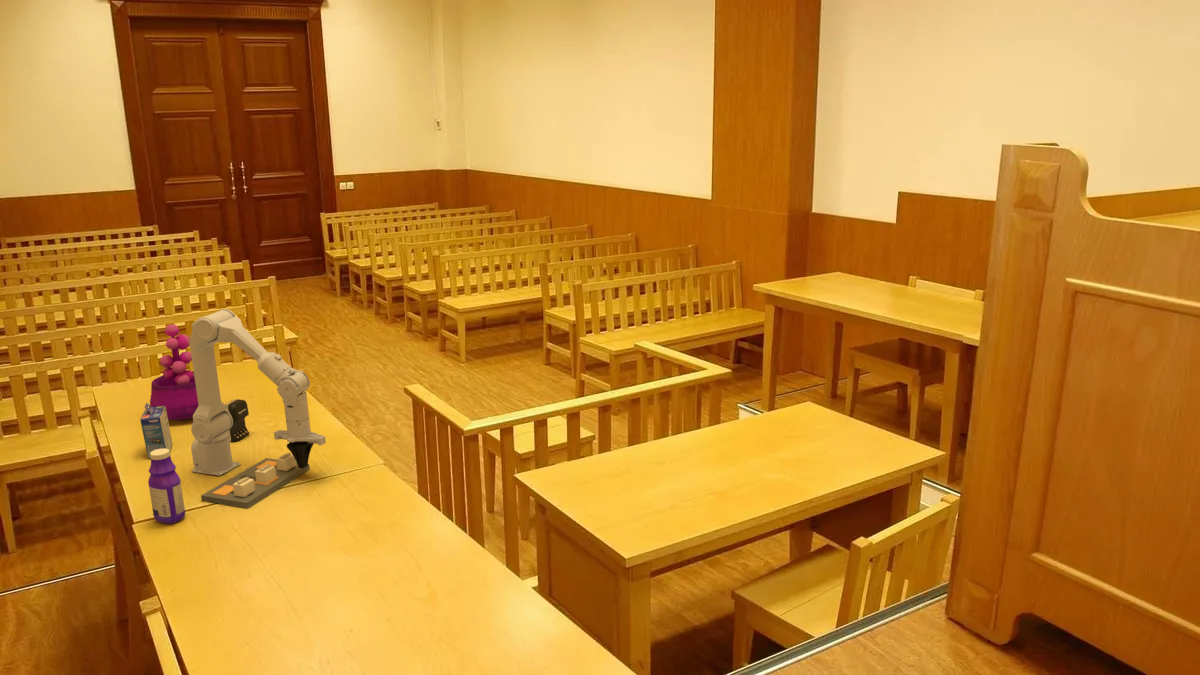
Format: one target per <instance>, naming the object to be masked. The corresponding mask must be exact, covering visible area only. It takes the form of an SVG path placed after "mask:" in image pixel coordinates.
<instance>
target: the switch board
mask: <svg viewBox="0 0 1200 675" xmlns="http://www.w3.org/2000/svg"><path fill="white" fill-rule="evenodd" d="M276 459H277V458H275V459H274V458H270V457H269V458H268V457H266V458H264V459H262V460H261V461H259V462H256V463H254V464H253V465H252V466H250V467H248V468H246V469H245V470H243V471H241V472H239V473H237V474H236V475H234V476H232V477H231V478H229V479H227V480H226V481H224V482H222V483H220V484H218V485H217V486H215V487H213V488H211V489H210V490H208V491H206V492H204V493H202V494H201V495H200V499H201V502H205V501H206V502H208V503H211V502H212V503H213V504H217V503H218V504H219V505H223V504H224V506H230V507H236V508H242V507H243V509H249V508H252V507H253V506H254V505H255V504H257V503H260V502H261V501H262V500H263V499H265V498H267V497H269V495H271V494H273V493H274V492H276V491H278V490H280V489H281V488H283V487H284V486H286V485H288V484H289V483H290V482H292V481H293V480H296V479H297V478H298V477H300V476H301V475H303V474H305V473H306V472H308V471H309V470H310V467H311V466H310V464H309V463H308V466H306V467H305V468H303V469H302V468H299V467H298V465H297V462H296V466H294V467H293V468H291V469H289V470H288V471H283V470H277V464H276ZM268 464H269V465H271V466H275V469H276V478H275V479H273V480H271V481H270V482H268V483H266V484H265V483H258V482H256V475H255V471H257V470H258V469H260V468H262V467H263V466H265V465H268ZM245 477H249V479H254V484H255V491H253V492H252V493H250V494H248V495H247V496H245V497H240V496H234V490H233V484H234V483H236V482H238V481H239V480H241V479H243V478H245ZM206 502H205V503H206Z"/></svg>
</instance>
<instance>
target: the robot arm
mask: <svg viewBox="0 0 1200 675" xmlns="http://www.w3.org/2000/svg"><path fill="white" fill-rule="evenodd" d="M189 338H190V346H189V347H190V353H191V356H192V361H191V362H192V367H193V368H192V369H193V370H192V371H194V377H195V383H196V390H197V397H198V404H199V406H198V408H197V409H196V411H195V413H194V415H193V418H192V424H191V434H192V435H193V437H194V439H193V441H192V443H191V456H192V462H193V469H191V471H192V473H197V474H198V473H199V474H203V475H204V474H205V475H211V476H218V477H220V476H223V475H224V474H227V473H228V472H230V471H231V470H234V469H235V468H237V467H239V466H240V465H241V462H239V461H238V462H236V461H233V457H232V456H233V455H232V449H231V448H232V447H231V441H229V434H230V431H229V429H231V427H232V425H233V419H232V416H231V415H230V413H229V410H228V406H227V405H226V404H227V403H224V402H222V398H221V391H220V382H219V377H218V369H217V362H216V357H215V356H216V355H215V348H214V346H215V345H216V344H217V343H233V344H234V345H235V346H237V347H238V348H240V349H241V350H242V351H244V352H245V353H246V354H247V355H248V356H250V357H251V358H252V359H254V361H256V363H257V369H258V370H259V371H261V373H262V374H264V375H265V376H266V377H267V378H268V379H269V380H271V382H272V383H273V384H275V385H276V386H277V387H276V390H277V393H278V394H279V396H280V398H281V399H282V403H283V407H284V415H285V426H286V430H285V429H284V430H283V429H281V430H280V429H278V430H276V431H275V432H273V434H274V435H273V436H274V440H286V442H287V444H286V448H287V449H288V450H289V451H290V452H289V453H291V454H293V456H294V458H295V460H296V462H297V465H298V467H299V468H302V469H303V468H305V467H306V466H308V464H309V458H310V454H311V450H312V448H313V446H314V444H317V445H318V446H323V445H325V444H326V443H327V441H326V435H322V434H319V433H316V432H315V431H312V430H311V423H310V422H311V421H310V412H309V403H308V396H307V391H308V389H309V388H310V386H311V385H310V384H311V382H310V378H309V377H308V375H307V374H306V373H305V371H303V370H297V369H296V368H293V367H291V365H289V364H288V363H287V362H286V361H285V360H284V359H283V358H282V355H280V354H279V353H277V352H274V351H273V352H269V351H267V350H266V349H265V348H264V346H262V345H261V344H260V343H259V342H258V340H257V339H255V337H254V336H252V334H251V333H250V332H249V331H248V330H247V329H246V328H245V327H244V326H243V323H242V319H241V318H240V317H238V316H236V314H235V313H234V312H233V311H232V310H230V309H227V308H222V309H219V310H218V311H216V312H213V313H210V314H207V315H204V316H201V317H199V318H197V319H196V320H195V321H194V322H193V323H192V324H191V335H190V337H189Z"/></svg>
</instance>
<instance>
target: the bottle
mask: <svg viewBox="0 0 1200 675" xmlns="http://www.w3.org/2000/svg"><path fill="white" fill-rule="evenodd" d="M170 452H171V451H170ZM170 452H169V449H157V450H154V451H152V452H151V453H150V457H151V459H150V467H149V468H148V473H149V474H150V475H149V478H148V489H149V496H150V502H151V503H150V504H151V509H152V515H153V517H154V519H155V520H156V521H157V522H158V523H162V524H168V525H169V524H174V523H178V522H179V521H181V520H182V519H184V518H185V516H186V510H185V509H186V508H185V501H184V496H183V495H184V494H183V488H182V484H181V482H182V481H181V478H180V476H179V474H178V473H177V472H176V468H177V466H176V464H174V462H173V460H172V457H171V453H170Z"/></svg>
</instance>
